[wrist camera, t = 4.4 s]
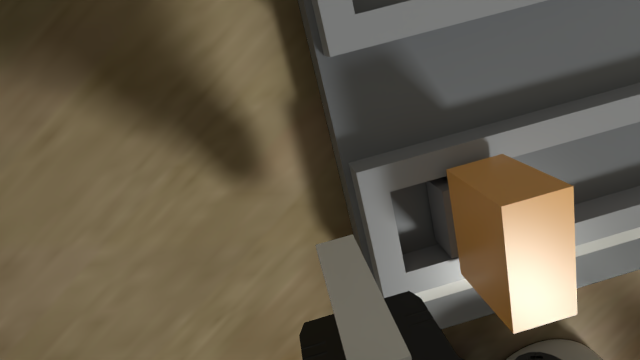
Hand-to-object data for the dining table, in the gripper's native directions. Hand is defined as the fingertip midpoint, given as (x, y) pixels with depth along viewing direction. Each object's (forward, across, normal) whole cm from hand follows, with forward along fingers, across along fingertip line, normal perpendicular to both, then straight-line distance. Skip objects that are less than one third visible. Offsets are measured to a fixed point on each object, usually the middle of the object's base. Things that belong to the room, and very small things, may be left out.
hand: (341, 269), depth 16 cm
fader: (+3, +6, 0) cm, 7 cm away
